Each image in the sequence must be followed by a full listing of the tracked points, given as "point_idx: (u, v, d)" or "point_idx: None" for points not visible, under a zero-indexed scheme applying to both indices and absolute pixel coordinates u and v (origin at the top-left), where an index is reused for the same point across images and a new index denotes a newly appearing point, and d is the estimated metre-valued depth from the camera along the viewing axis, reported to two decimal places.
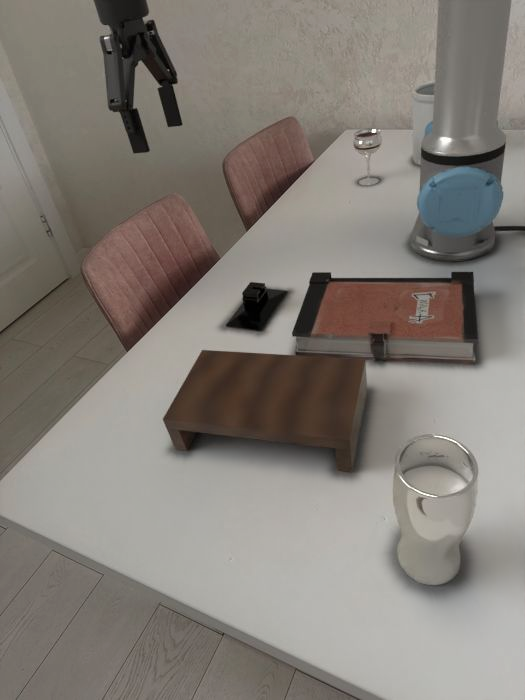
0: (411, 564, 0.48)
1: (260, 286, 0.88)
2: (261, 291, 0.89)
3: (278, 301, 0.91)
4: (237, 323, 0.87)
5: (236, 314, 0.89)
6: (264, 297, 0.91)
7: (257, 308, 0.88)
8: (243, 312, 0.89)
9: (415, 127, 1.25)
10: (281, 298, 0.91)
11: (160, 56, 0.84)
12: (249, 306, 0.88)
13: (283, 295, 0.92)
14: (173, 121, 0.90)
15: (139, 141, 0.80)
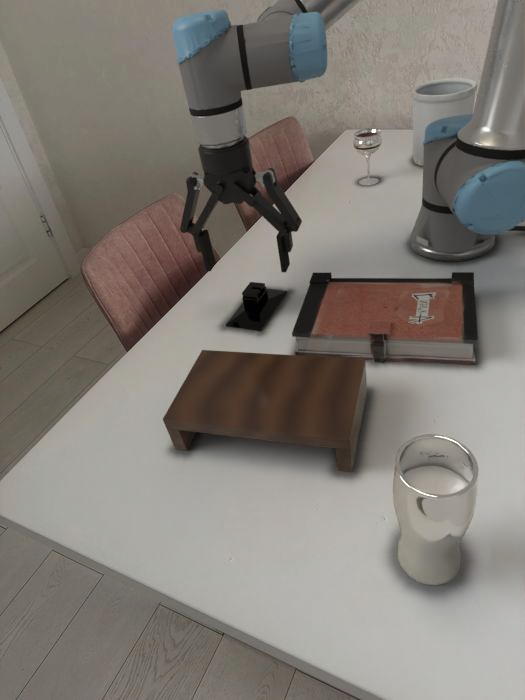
0: (411, 564, 0.48)
1: (260, 286, 0.88)
2: (261, 291, 0.89)
3: (278, 301, 0.91)
4: (237, 323, 0.87)
5: (236, 314, 0.89)
6: (264, 297, 0.91)
7: (257, 308, 0.88)
8: (243, 312, 0.89)
9: (415, 127, 1.25)
10: (281, 298, 0.91)
11: None
12: (249, 306, 0.88)
13: (283, 295, 0.92)
14: None
15: None
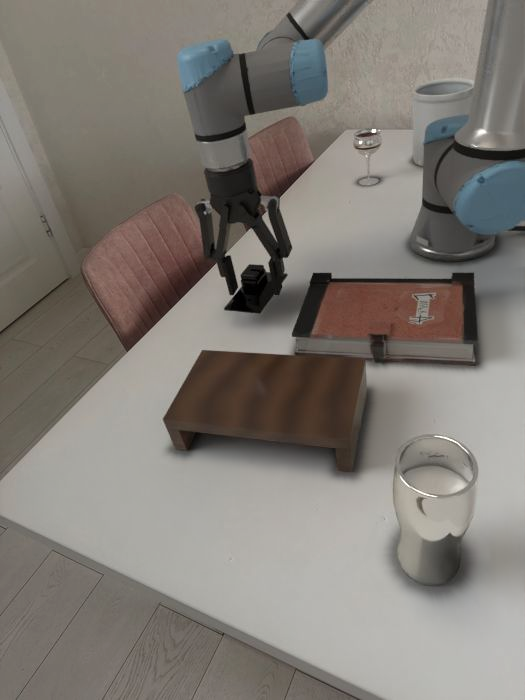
0: (411, 564, 0.48)
1: (259, 268, 0.86)
2: (260, 273, 0.87)
3: None
4: (236, 306, 0.85)
5: (234, 298, 0.87)
6: (263, 280, 0.88)
7: (256, 290, 0.85)
8: (242, 295, 0.87)
9: (415, 127, 1.25)
10: None
11: None
12: (248, 289, 0.86)
13: (283, 278, 0.90)
14: None
15: None
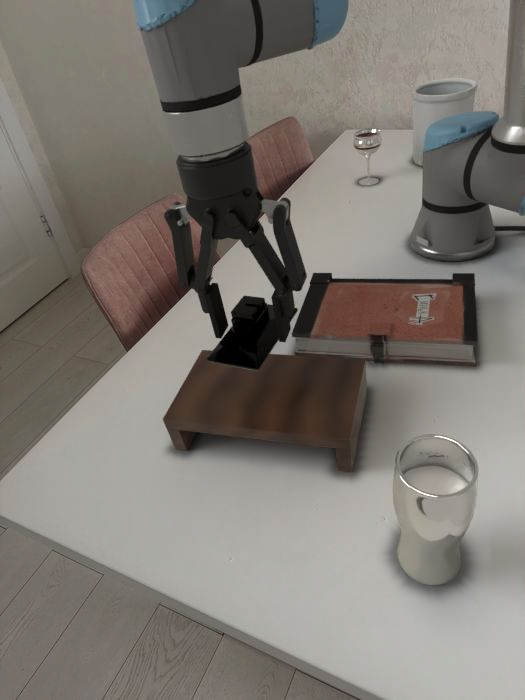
0: (411, 564, 0.48)
1: (258, 302, 0.60)
2: (259, 309, 0.61)
3: None
4: (224, 357, 0.59)
5: (222, 343, 0.61)
6: (264, 318, 0.63)
7: (253, 335, 0.60)
8: (233, 340, 0.61)
9: (415, 127, 1.25)
10: None
11: None
12: (241, 331, 0.60)
13: None
14: None
15: None
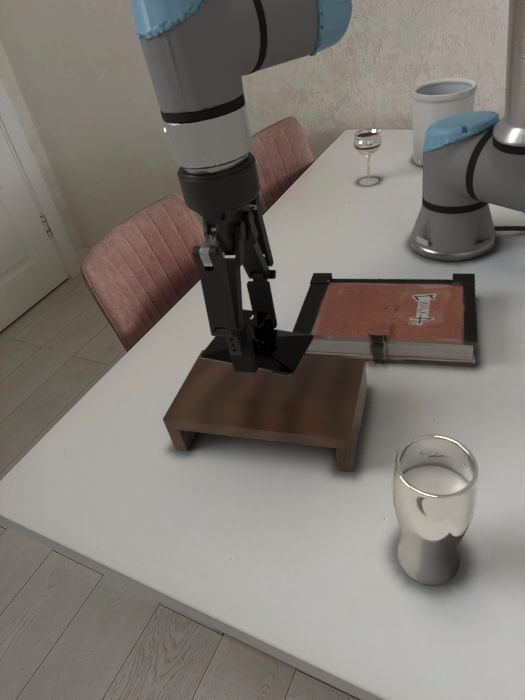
0: (411, 564, 0.48)
1: (249, 311, 0.59)
2: None
3: None
4: (292, 358, 0.58)
5: (269, 363, 0.57)
6: None
7: (273, 333, 0.60)
8: (269, 353, 0.58)
9: (415, 127, 1.25)
10: None
11: (257, 238, 0.57)
12: (268, 339, 0.59)
13: None
14: None
15: (245, 360, 0.56)
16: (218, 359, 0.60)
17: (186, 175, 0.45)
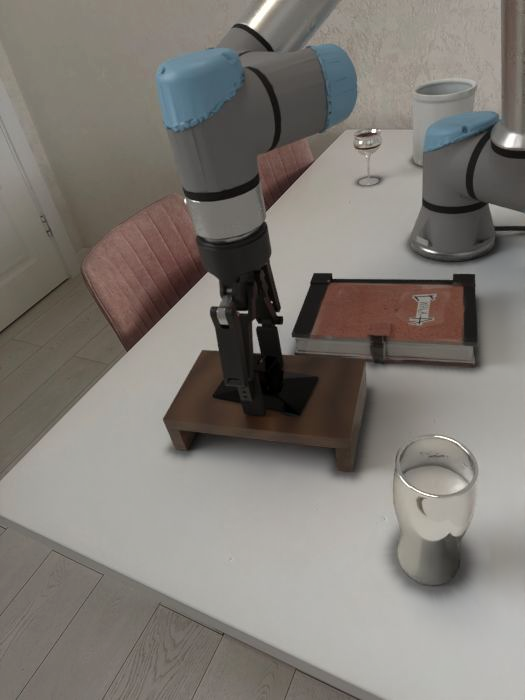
0: (411, 564, 0.48)
1: (258, 355, 0.63)
2: None
3: None
4: (299, 400, 0.62)
5: (278, 404, 0.62)
6: None
7: (281, 375, 0.64)
8: (278, 395, 0.63)
9: (415, 127, 1.25)
10: None
11: None
12: (276, 381, 0.63)
13: None
14: None
15: (255, 404, 0.60)
16: (229, 400, 0.64)
17: (205, 243, 0.49)
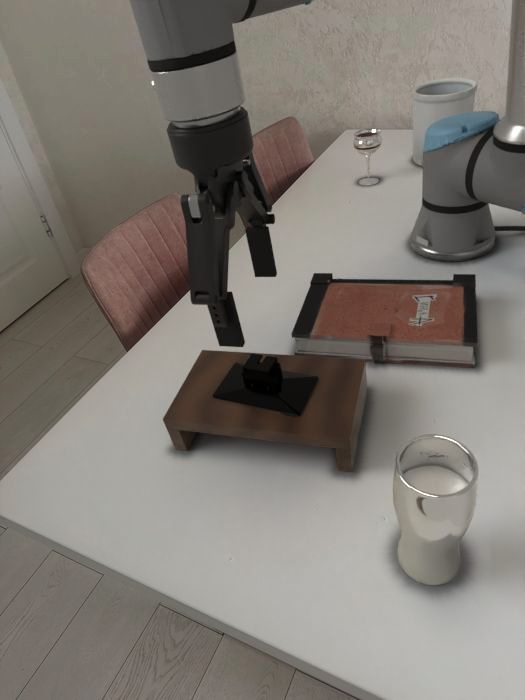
0: (411, 564, 0.48)
1: (258, 355, 0.63)
2: None
3: None
4: (299, 400, 0.62)
5: (278, 404, 0.62)
6: None
7: (281, 375, 0.64)
8: (278, 395, 0.63)
9: (415, 127, 1.25)
10: None
11: (253, 189, 0.56)
12: (276, 381, 0.63)
13: None
14: (264, 271, 0.62)
15: (231, 333, 0.51)
16: (229, 400, 0.64)
17: (176, 129, 0.43)
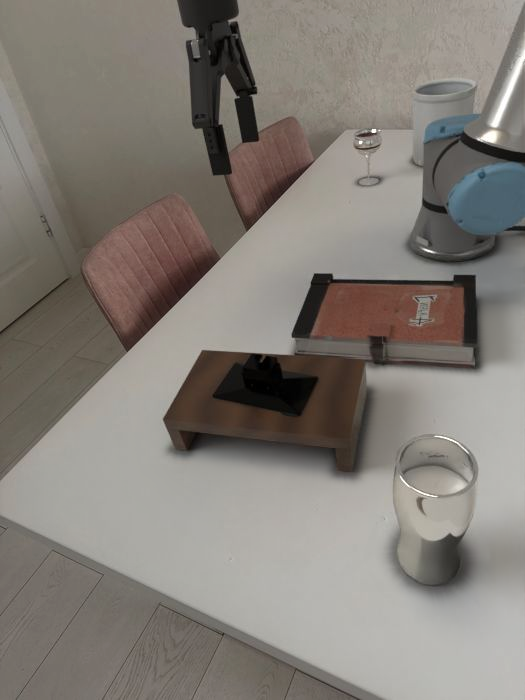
0: (411, 564, 0.48)
1: (258, 355, 0.63)
2: None
3: None
4: (299, 400, 0.62)
5: (278, 404, 0.62)
6: None
7: (281, 375, 0.64)
8: (278, 395, 0.63)
9: (415, 127, 1.25)
10: None
11: (240, 63, 0.73)
12: (276, 381, 0.63)
13: None
14: (249, 136, 0.79)
15: (221, 162, 0.69)
16: (229, 400, 0.64)
17: None
